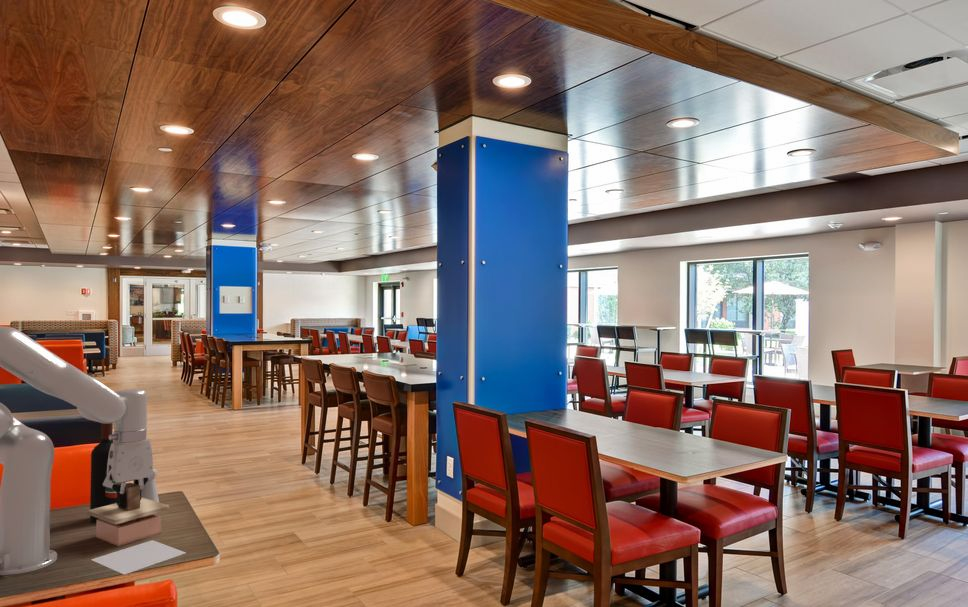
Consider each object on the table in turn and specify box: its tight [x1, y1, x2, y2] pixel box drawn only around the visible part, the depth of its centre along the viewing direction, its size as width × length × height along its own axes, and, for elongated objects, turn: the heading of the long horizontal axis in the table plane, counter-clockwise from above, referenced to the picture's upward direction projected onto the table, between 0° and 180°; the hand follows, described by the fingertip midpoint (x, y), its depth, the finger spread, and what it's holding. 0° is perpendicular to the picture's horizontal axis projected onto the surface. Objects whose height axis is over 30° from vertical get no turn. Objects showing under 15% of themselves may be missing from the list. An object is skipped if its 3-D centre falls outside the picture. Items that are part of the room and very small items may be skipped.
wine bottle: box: [89, 423, 117, 524], centre depth 178 cm, size 8×8×30 cm
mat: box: [90, 539, 187, 576], centre depth 150 cm, size 15×15×1 cm
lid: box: [86, 482, 171, 524], centre depth 164 cm, size 14×14×7 cm
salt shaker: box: [141, 468, 160, 503], centre depth 182 cm, size 6×6×13 cm
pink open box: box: [95, 513, 162, 547], centre depth 164 cm, size 11×11×5 cm
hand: (129, 505), depth 164 cm, fingers closed on lid, 2 cm apart
